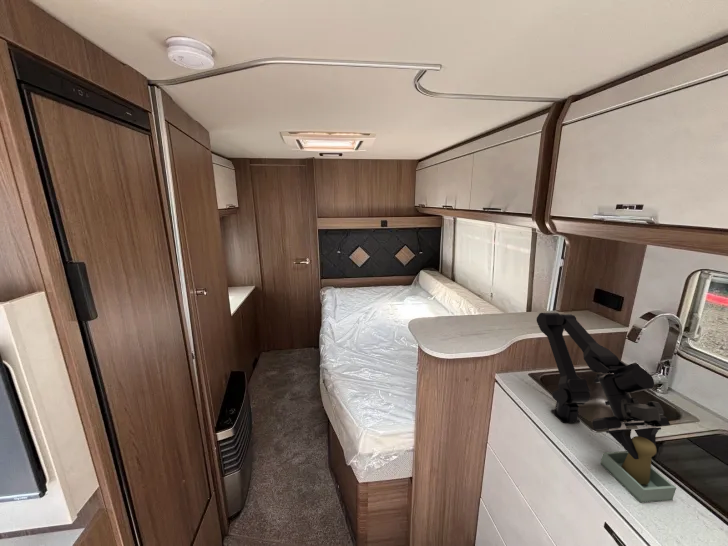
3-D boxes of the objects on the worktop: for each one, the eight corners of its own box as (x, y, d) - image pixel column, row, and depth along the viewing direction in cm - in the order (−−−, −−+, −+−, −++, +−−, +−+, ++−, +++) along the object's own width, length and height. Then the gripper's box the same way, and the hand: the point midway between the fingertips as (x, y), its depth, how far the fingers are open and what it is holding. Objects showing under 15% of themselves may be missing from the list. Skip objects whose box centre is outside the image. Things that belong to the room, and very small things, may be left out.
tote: (600, 463, 90) (603, 452, 89) (628, 462, 91) (632, 450, 90) (640, 502, 79) (643, 490, 78) (672, 500, 80) (676, 487, 79)
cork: (615, 465, 88) (624, 432, 85) (636, 465, 88) (645, 432, 85) (633, 484, 82) (643, 449, 79) (656, 484, 82) (666, 449, 79)
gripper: (610, 391, 82) (640, 460, 74) (672, 389, 84) (708, 456, 76) (581, 399, 92) (604, 460, 84) (638, 396, 94) (666, 456, 86)
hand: (645, 458), depth 82 cm, fingers closed on cork, 5 cm apart
